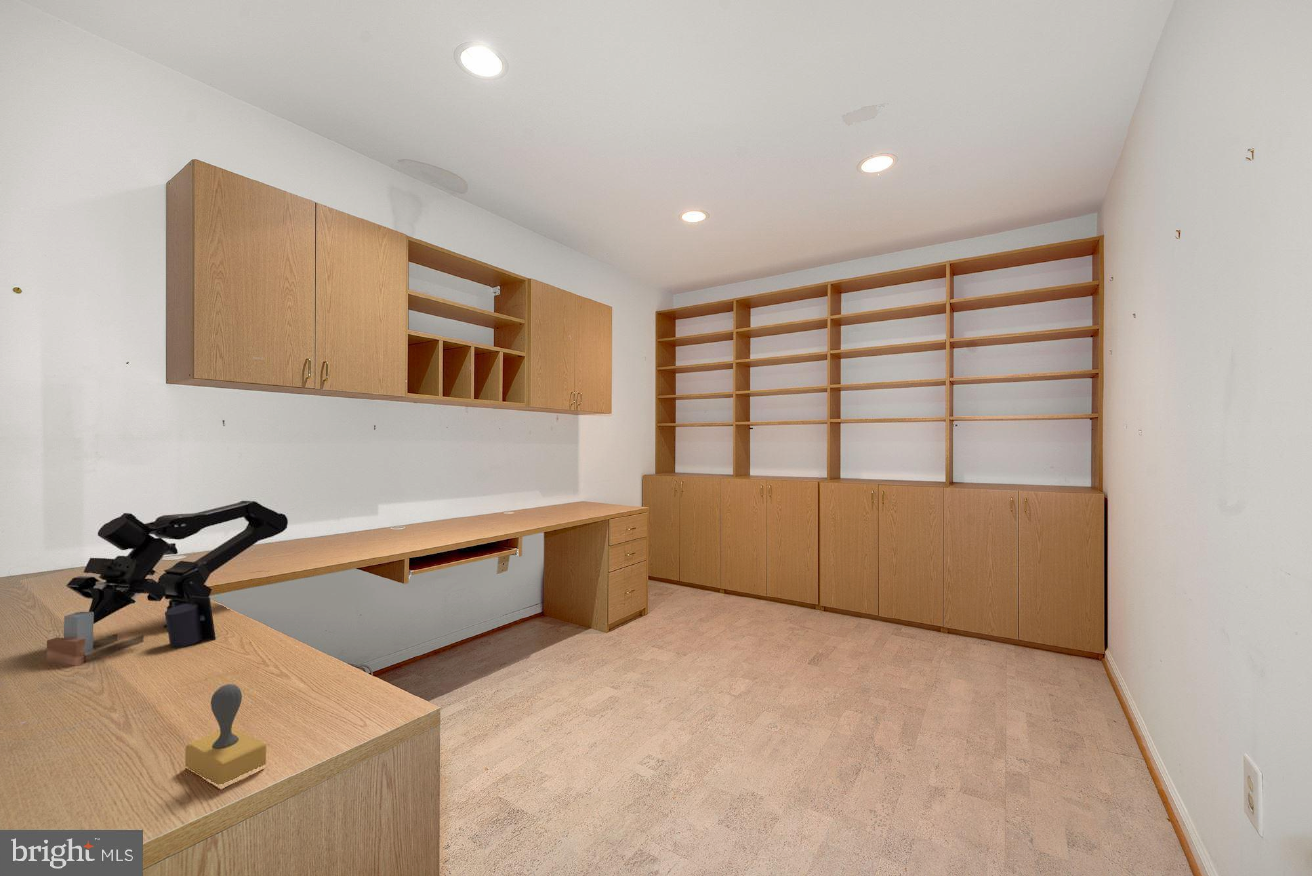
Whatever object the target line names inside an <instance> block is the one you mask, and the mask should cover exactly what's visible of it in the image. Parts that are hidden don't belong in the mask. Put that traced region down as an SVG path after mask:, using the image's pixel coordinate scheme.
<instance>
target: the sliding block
mask: <svg viewBox="0 0 1312 876" xmlns="http://www.w3.org/2000/svg"><path fill="white" fill-rule="evenodd" d="M63 638H85V654H88V653H91V652H93V651H96V650H97V649H96V650H94V649H93V641H94V612H89V611H78V612H74V613H71V614H68V615H67V614H66V615H64V616H63Z"/></svg>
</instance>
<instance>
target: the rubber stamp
mask: <svg viewBox="0 0 1312 876" xmlns="http://www.w3.org/2000/svg"><path fill="white" fill-rule="evenodd" d="M242 697H243V694H242V690H241V689H240V688H239V686H238V685H236V684H233V683H228V684H227V683H226V684H224V685H222V686H220V687H218V689H216V690H215V691H214V693H213V694H212V696H211V699H210V708H211V711H212V713H213V715H214V718H215V720H216V721H217V723H218V726H219V729H220V730H218V731H215V732H212V733H211V734H208V735H205V736H203V737H201V738H198V739H196V740H193V741H190V742H188V743H187V744H186V745H185V750H184V751H185V761H184V763H185V765H184V766H186V767H188V769H190V770H192V771H194V772H195V773H197V774H199V775H201V776H202V777H204V778H206V779H209V780H211V782H214V783H216V784H218V785H219V784H224V783H225V782H228V781H230V780H233V779H235V778H237V777H239V776H240V775H243V774H245V773H248V772H249V771H252V770H253V769H257V768H258V767H261V766H263V765H265V764H266V765H267V743H266V742H263V741H261V740H259V739H257V738H255V737H253V736H251V735H249V734H248V733H245V732H243V731H241V730H239V729H238V728H236V727H233V723H234V720H235V718H236V716H237V713H238V712H239V709H240V706H241V704H242V699H243V698H242Z"/></svg>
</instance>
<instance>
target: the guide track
mask: <svg viewBox="0 0 1312 876" xmlns="http://www.w3.org/2000/svg"><path fill="white" fill-rule="evenodd" d="M144 640H145V639H144V634H139V635H136V636H134V637H131V638H128V639H124V640H122V641H120V642H118V634H117V633H114V634H110V635H107V636H104V637H102V638H98V639H96V640H93V650H94V649H96V651H93V652H91V653H88V654H85V638H64V637H53V638H50V639H47V640H46V665H48V666H74V667H75V666H78V665H81V664H87V663H89V662H91V661H95V660H97V659H100V658H102V657H106V656H108V655H110V654H113V653H116V652H119V651H121V650H125V649H127V648H130V647H133V646H135V645H138V644H141V643H143V642H144ZM114 642H117V643H114ZM112 643H113V644H112ZM109 644H111V645H109ZM106 645H108V646H106ZM103 646H105V647H103ZM100 647H102V648H100ZM98 648H100V649H98ZM105 655H106V656H105Z"/></svg>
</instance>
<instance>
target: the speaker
mask: <svg viewBox="0 0 1312 876" xmlns="http://www.w3.org/2000/svg"><path fill="white" fill-rule="evenodd" d="M190 598H191V603H188V604H182V605H178V606H175V607H172V608H170V609H168V610H167V609H166V611H165V612H164V615H165V621H166V623H165V624H167V627H166V628H167V629H166V630H167V633H168V641H169V646H170V647H172V648H174V649H175V648H176V649H177V648H178V649H179V648H183V647H184V648H185V647H188V646H191V645H195V644H196V643H198V642H200V641H201V640H202V639H204V640H211V641H215V640H216V639H217V638H216V630H215V624H214V623H215V622H214V618H213V611H212V603H211V597H210V596H209V597H200V596H190Z"/></svg>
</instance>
